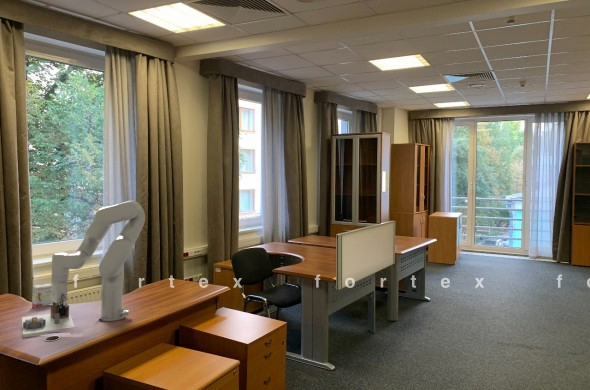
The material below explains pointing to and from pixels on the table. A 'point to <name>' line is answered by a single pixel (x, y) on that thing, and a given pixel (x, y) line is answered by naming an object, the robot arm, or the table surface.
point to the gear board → (44, 324)
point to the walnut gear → (56, 310)
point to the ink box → (41, 295)
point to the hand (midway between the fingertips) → (59, 313)
